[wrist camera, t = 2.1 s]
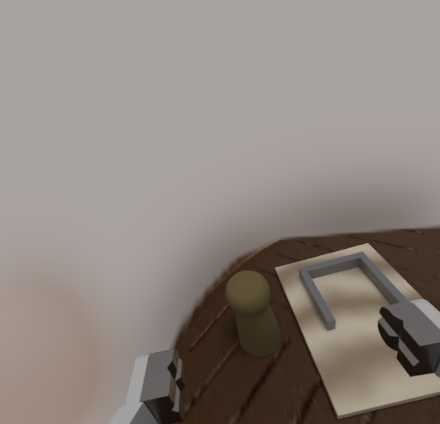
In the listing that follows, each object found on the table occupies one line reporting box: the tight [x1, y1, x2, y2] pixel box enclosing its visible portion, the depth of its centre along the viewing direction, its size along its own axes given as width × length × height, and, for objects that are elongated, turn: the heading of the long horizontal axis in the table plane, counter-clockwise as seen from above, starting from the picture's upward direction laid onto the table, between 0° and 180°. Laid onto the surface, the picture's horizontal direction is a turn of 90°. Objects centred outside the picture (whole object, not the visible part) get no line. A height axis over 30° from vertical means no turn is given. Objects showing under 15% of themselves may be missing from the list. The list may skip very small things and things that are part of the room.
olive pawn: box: [226, 270, 282, 357], centre depth 30 cm, size 6×6×11 cm
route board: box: [275, 243, 440, 419], centre depth 32 cm, size 20×16×1 cm
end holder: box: [299, 251, 408, 331], centre depth 33 cm, size 9×10×2 cm
